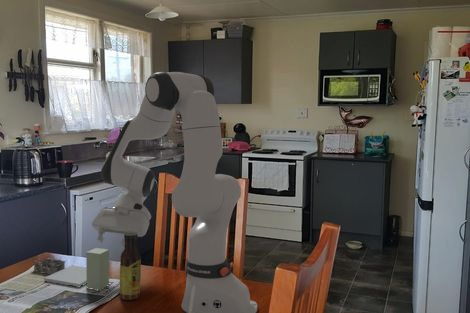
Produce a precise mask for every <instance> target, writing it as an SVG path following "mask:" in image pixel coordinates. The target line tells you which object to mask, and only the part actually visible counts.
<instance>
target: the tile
mask: <svg viewBox="0 0 470 313" xmlns="http://www.w3.org/2000/svg"><path fill="white" fill-rule="evenodd" d="M43 281H44V282H45V281H47V282H46V283H51V282H53V283H52V284H56V283H60V284H59V285H62V284H66V285H65V286H67V285H73V286H78V287H79V286H81V285H83V284H85V283H87V277H86V267H85V266H81V265H80V266H79V265H74V264H73V265H69V266H67V267H66V268H65V269H63V270H60V271H58V272H56V273H54V274H51V275H47V276H45V277H43ZM85 285H86V284H85ZM83 286H84V285H83ZM78 287H77V288H78ZM81 287H82V286H81ZM79 288H80V287H79Z"/></svg>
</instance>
